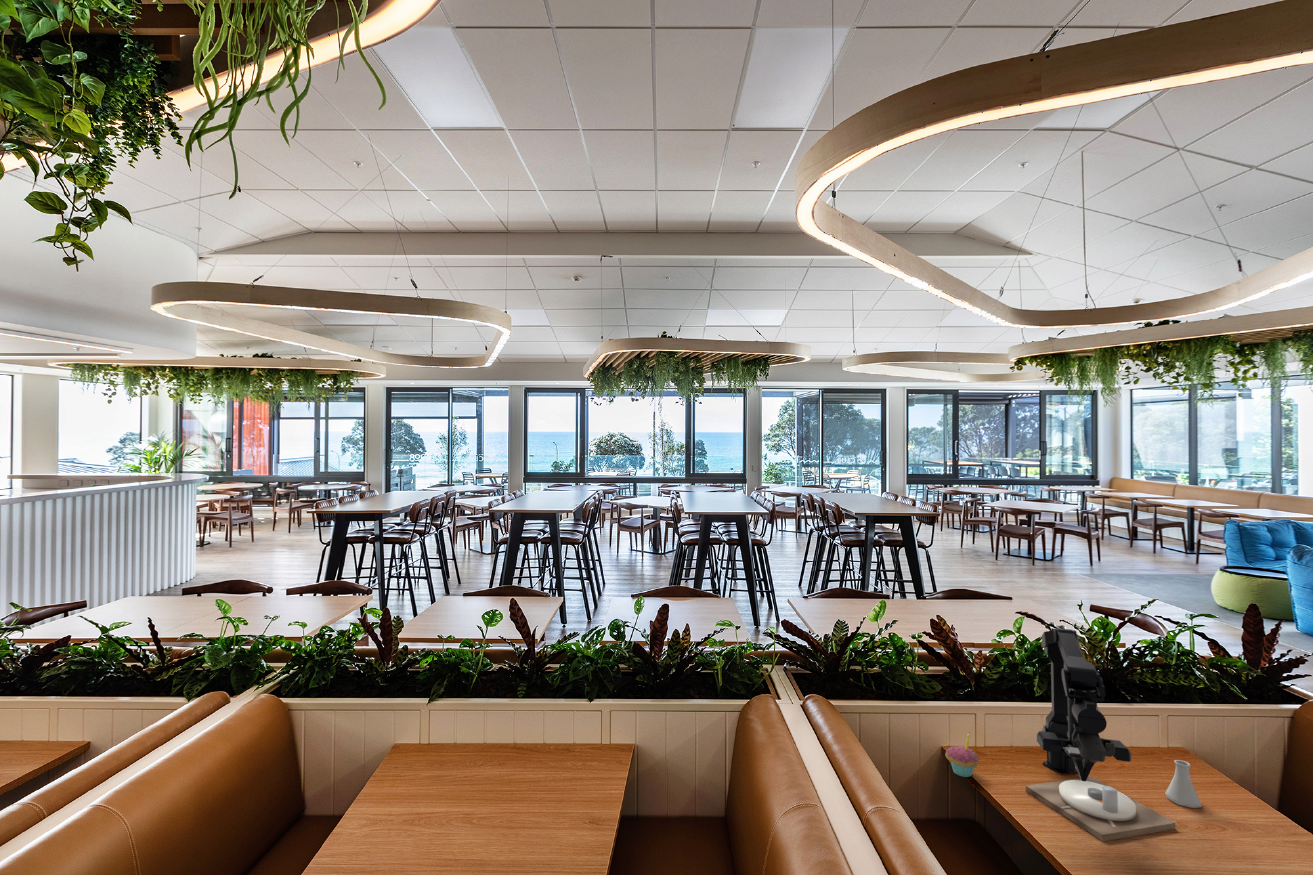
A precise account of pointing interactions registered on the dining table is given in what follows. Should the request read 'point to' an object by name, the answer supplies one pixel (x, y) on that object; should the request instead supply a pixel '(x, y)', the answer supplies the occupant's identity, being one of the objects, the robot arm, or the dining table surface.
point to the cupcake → (962, 759)
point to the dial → (1097, 800)
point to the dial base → (1099, 827)
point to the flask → (1183, 787)
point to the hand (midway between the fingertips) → (1083, 780)
